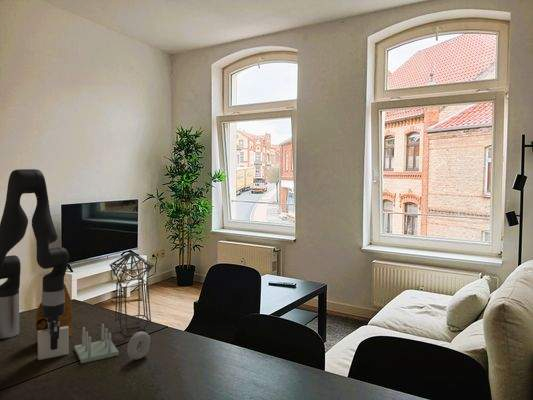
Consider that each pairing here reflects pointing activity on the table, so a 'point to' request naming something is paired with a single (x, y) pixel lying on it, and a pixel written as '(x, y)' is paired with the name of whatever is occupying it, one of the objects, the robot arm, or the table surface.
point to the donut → (134, 342)
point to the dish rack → (96, 347)
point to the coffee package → (64, 319)
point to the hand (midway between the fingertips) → (53, 347)
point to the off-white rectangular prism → (45, 343)
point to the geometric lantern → (131, 286)
